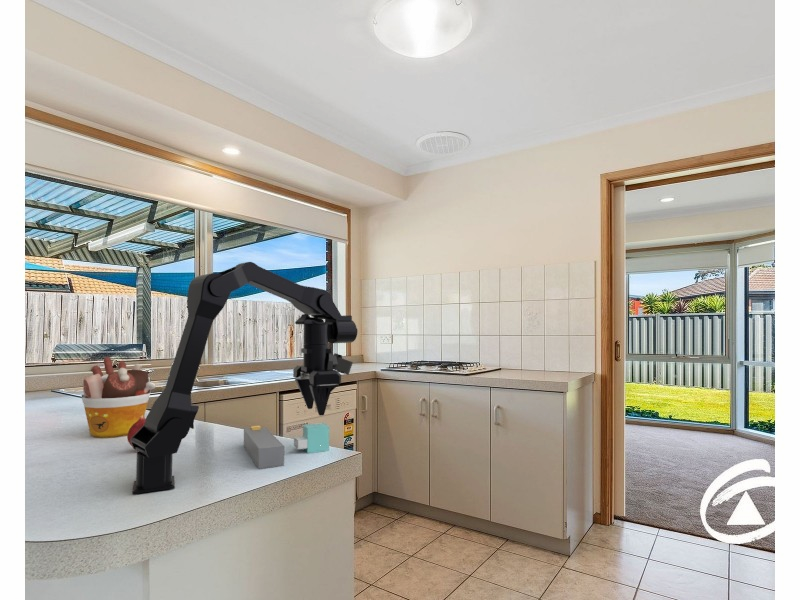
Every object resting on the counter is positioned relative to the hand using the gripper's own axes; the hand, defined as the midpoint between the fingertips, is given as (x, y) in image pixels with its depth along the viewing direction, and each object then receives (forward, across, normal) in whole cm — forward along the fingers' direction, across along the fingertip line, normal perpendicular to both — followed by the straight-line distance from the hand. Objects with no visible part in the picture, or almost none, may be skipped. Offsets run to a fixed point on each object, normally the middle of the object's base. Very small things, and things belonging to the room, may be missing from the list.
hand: (315, 411), depth 109 cm
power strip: (+9, +3, +12) cm, 15 cm away
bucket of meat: (+9, +41, +43) cm, 60 cm away
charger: (+9, 0, +1) cm, 9 cm away
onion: (+9, +17, +36) cm, 41 cm away
